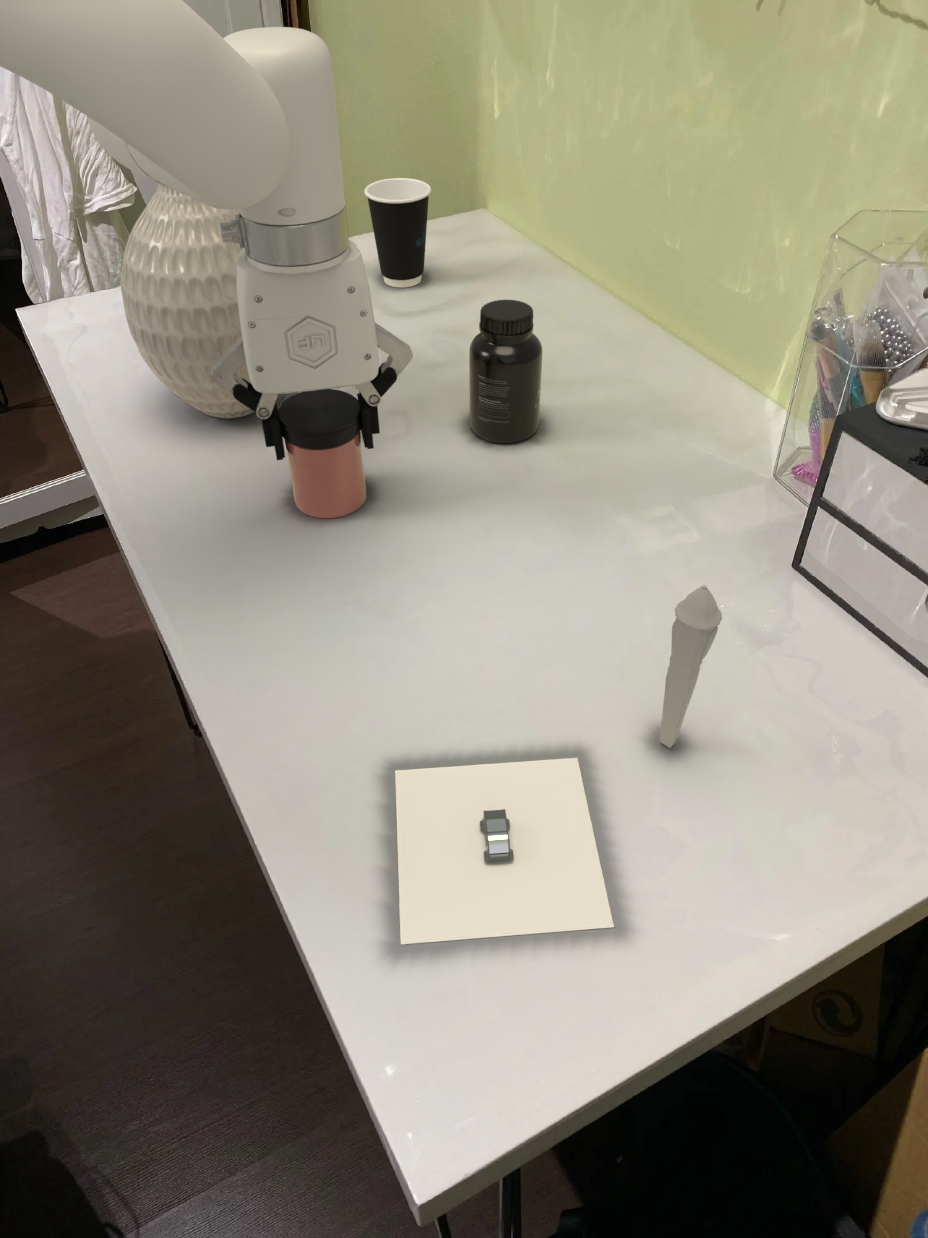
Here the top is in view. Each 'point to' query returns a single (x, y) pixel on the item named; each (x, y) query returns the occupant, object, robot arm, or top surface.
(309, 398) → the jar lid
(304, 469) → the cream jar
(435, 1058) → the top surface
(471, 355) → the supplement bottle
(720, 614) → the grey tapered bar
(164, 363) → the vase
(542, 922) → the cream paper sheet
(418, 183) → the dixie cup
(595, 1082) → the top surface
